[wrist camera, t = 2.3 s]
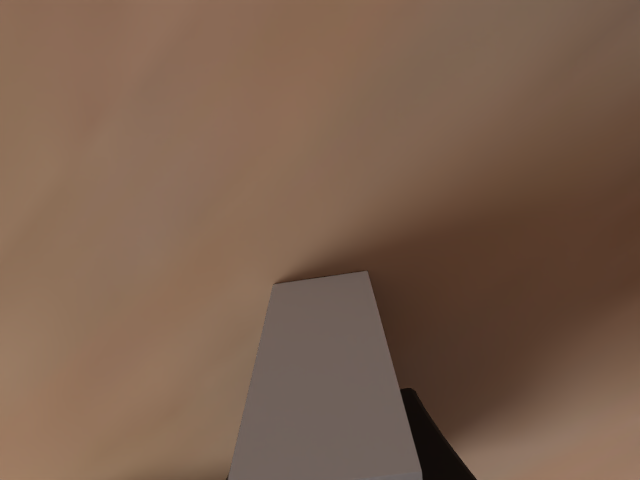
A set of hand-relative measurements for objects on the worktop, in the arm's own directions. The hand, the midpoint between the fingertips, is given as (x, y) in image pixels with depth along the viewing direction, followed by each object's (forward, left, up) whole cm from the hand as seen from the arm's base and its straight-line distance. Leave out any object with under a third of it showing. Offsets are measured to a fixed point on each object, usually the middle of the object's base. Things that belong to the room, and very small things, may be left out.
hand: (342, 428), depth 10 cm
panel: (0, 0, -1) cm, 1 cm away
